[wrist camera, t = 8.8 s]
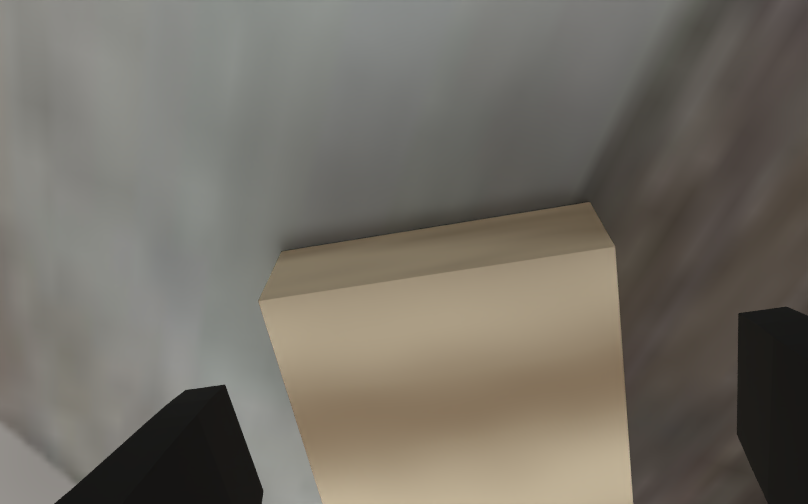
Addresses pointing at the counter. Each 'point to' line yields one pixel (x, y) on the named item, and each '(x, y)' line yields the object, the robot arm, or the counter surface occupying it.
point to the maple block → (458, 362)
